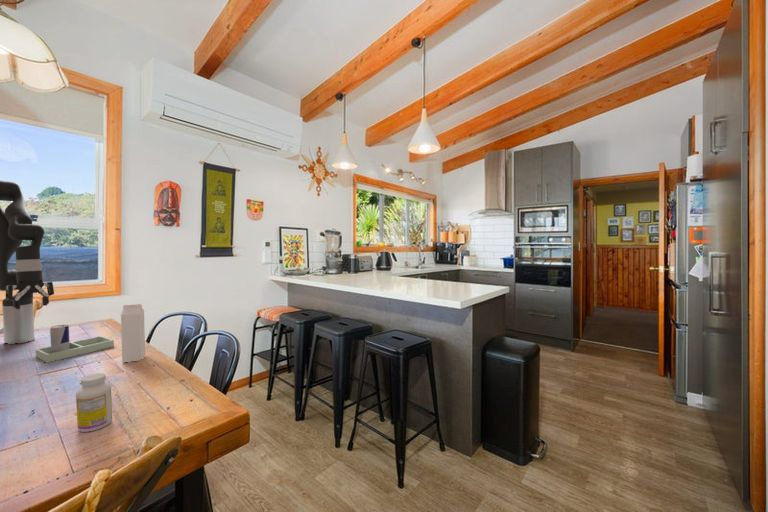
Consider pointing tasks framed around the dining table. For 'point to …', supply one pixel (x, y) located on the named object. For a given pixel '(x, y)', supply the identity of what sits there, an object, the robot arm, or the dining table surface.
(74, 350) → the caddy
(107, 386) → the supplement bottle
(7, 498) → the dining table surface
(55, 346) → the energy drink
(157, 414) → the dining table surface
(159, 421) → the dining table surface
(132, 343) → the milk
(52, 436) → the dining table surface
